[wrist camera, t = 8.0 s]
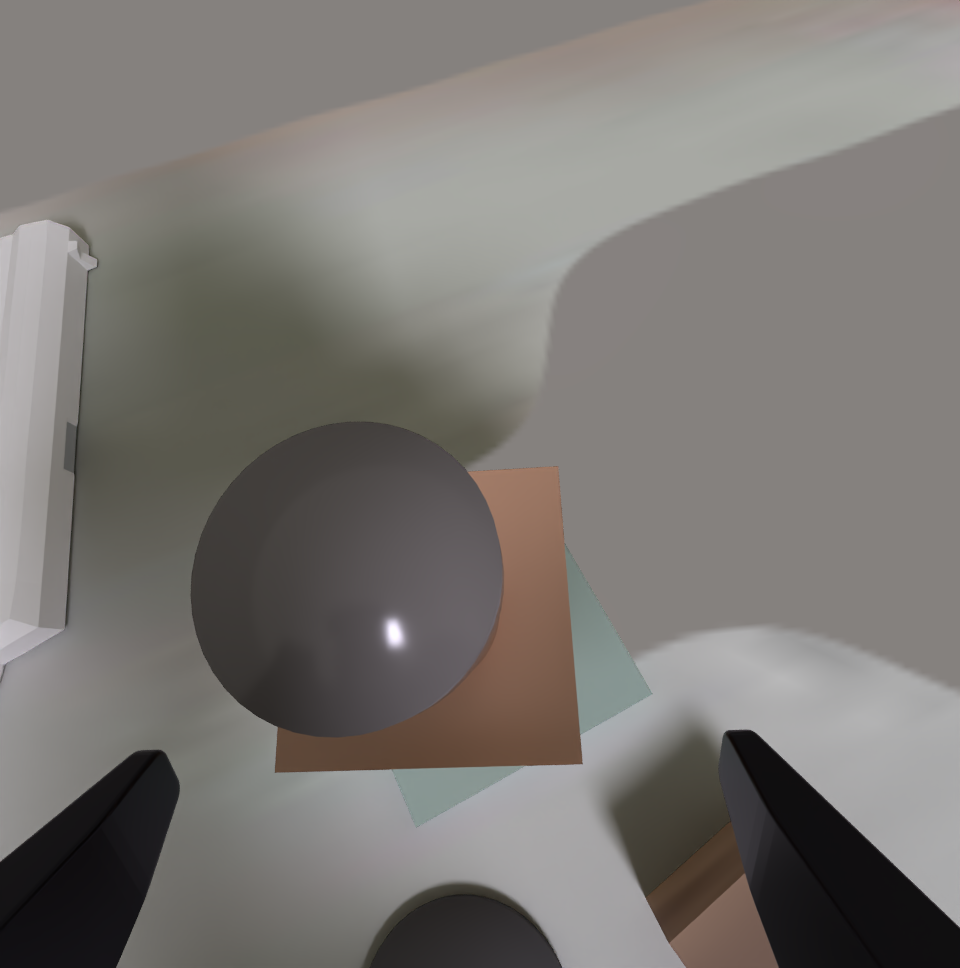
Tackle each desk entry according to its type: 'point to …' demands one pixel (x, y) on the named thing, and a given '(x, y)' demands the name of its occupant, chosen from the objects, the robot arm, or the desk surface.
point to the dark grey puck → (465, 937)
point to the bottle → (391, 605)
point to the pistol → (38, 426)
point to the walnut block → (712, 910)
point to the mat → (600, 695)
